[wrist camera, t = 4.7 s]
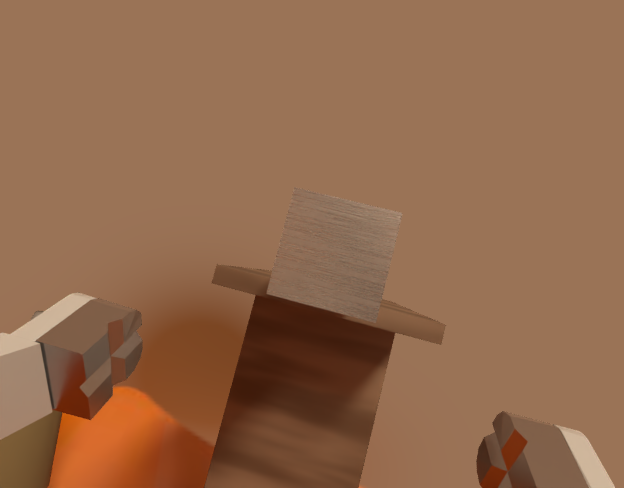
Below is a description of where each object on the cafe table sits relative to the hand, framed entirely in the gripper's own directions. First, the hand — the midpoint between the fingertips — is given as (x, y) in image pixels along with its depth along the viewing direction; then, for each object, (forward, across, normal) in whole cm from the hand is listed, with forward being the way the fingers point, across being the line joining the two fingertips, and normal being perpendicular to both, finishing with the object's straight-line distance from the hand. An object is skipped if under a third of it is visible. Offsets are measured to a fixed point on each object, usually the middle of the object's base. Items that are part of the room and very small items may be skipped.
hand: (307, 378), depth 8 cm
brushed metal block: (+13, 0, +6) cm, 14 cm away
